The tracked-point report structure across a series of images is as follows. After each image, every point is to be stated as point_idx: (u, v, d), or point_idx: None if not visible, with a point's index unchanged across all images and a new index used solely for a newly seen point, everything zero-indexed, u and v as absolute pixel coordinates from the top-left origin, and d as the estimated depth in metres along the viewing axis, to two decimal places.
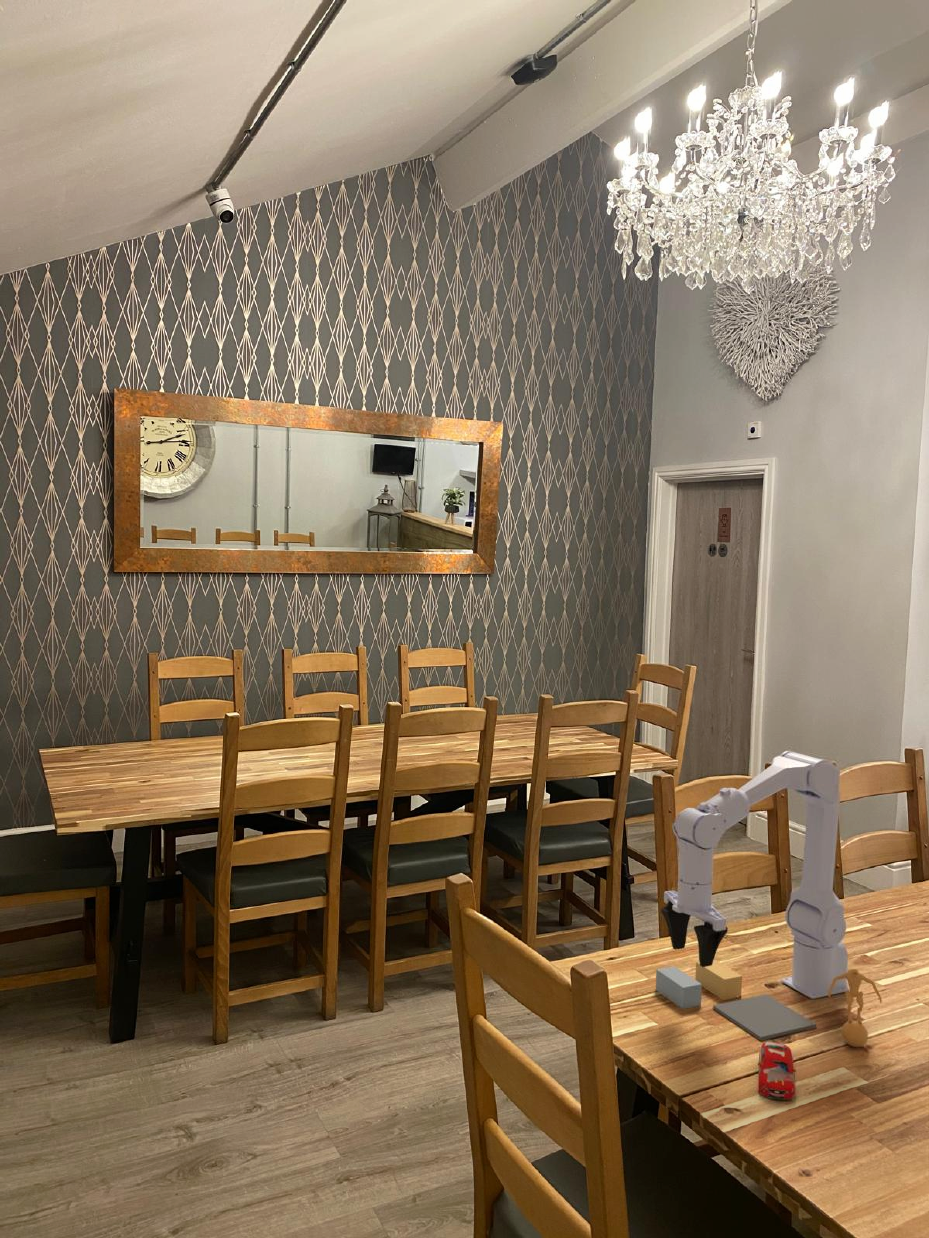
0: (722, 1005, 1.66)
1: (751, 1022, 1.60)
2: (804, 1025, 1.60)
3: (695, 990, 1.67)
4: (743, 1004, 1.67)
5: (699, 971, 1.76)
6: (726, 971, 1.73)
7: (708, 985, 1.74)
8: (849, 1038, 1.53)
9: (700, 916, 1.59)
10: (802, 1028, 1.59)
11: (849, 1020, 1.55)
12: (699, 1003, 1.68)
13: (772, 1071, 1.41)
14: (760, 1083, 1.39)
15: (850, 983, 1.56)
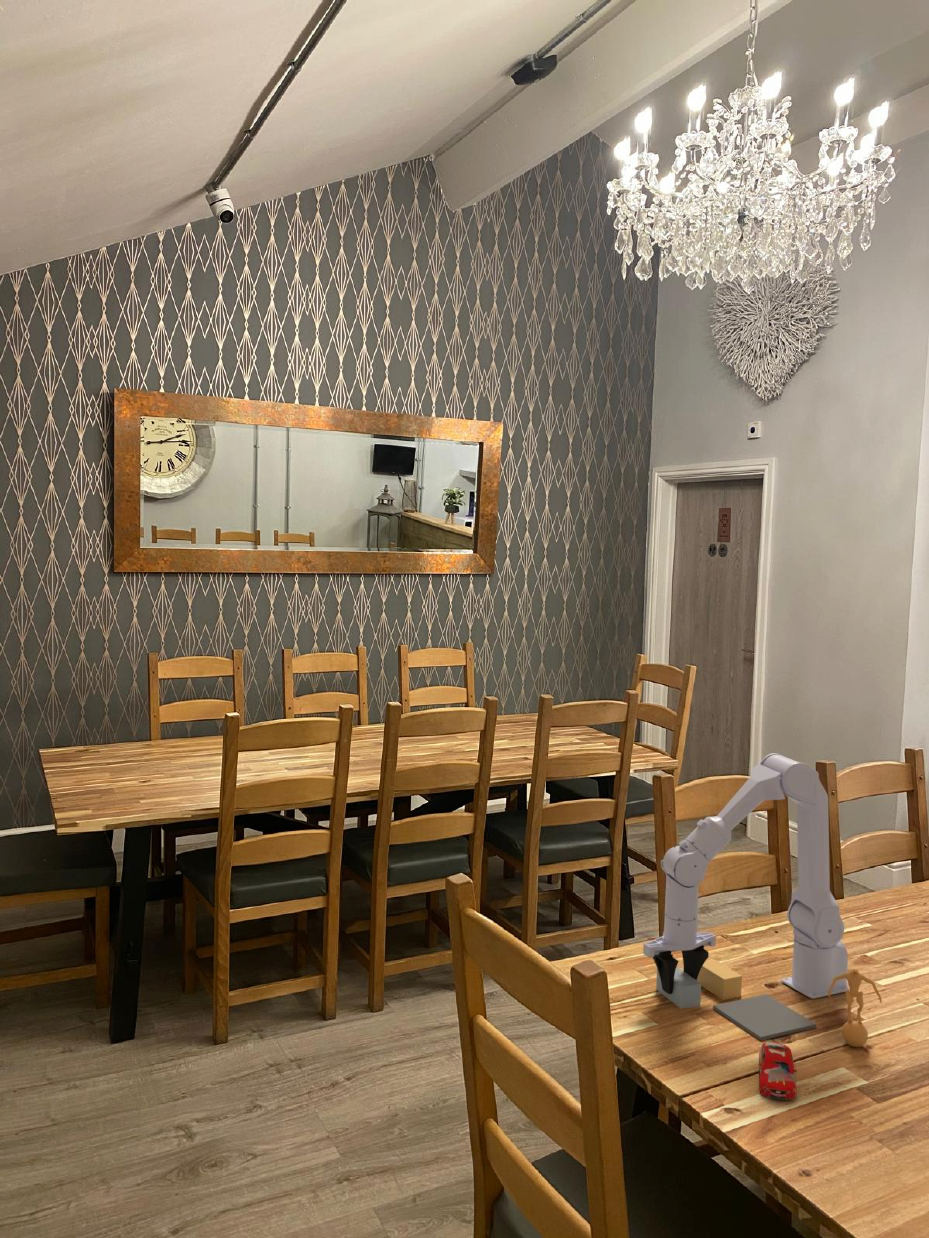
0: (722, 1005, 1.66)
1: (751, 1022, 1.60)
2: (804, 1025, 1.60)
3: (694, 989, 1.67)
4: (743, 1004, 1.67)
5: None
6: (726, 971, 1.73)
7: (708, 985, 1.74)
8: (849, 1038, 1.53)
9: None
10: (802, 1028, 1.59)
11: (849, 1020, 1.55)
12: (698, 1003, 1.67)
13: (773, 1071, 1.41)
14: (761, 1083, 1.39)
15: (850, 983, 1.56)
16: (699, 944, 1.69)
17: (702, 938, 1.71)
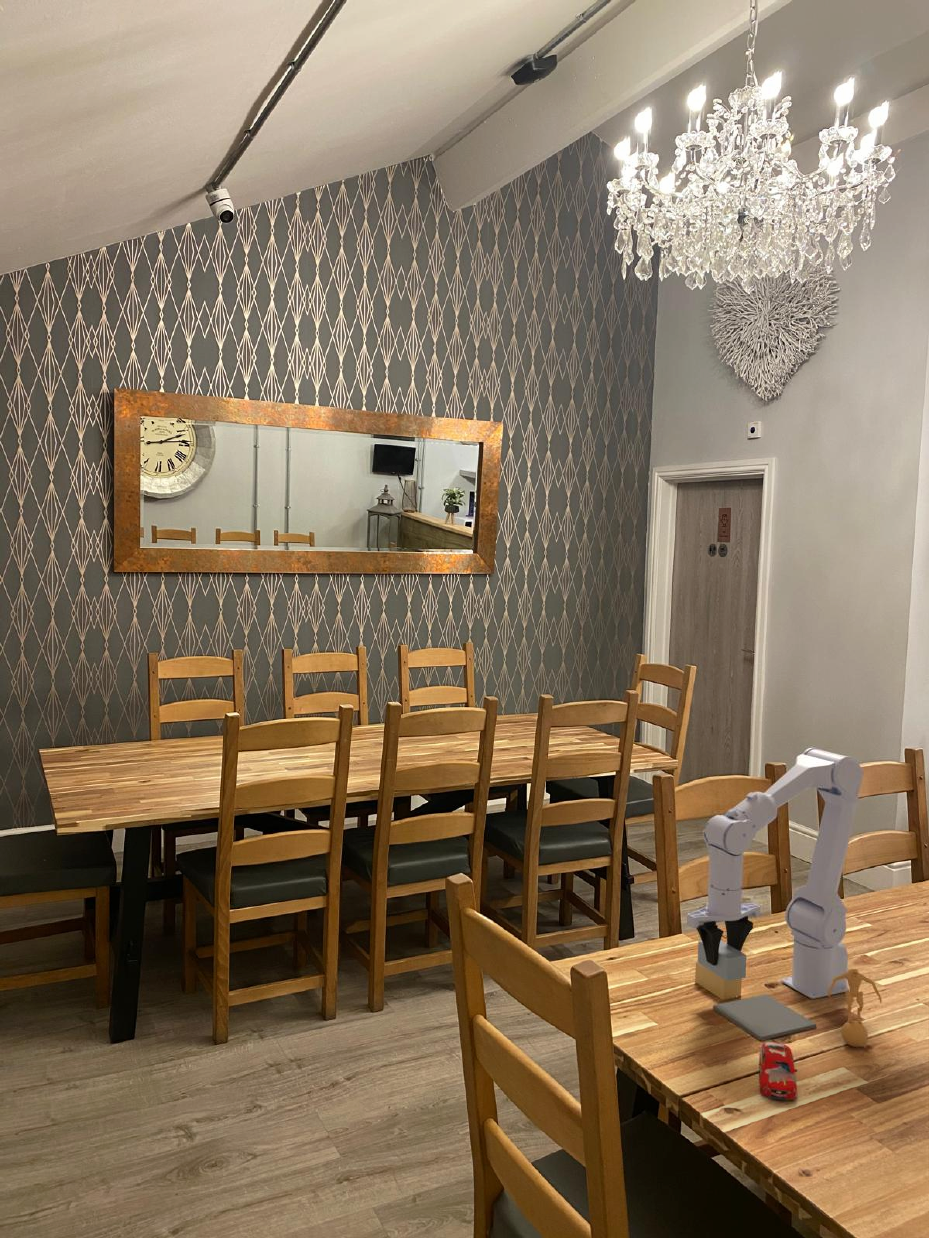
0: (722, 1005, 1.66)
1: (751, 1022, 1.60)
2: (804, 1025, 1.60)
3: (740, 961, 1.63)
4: (743, 1004, 1.67)
5: (698, 970, 1.76)
6: None
7: (707, 985, 1.74)
8: (849, 1038, 1.53)
9: None
10: (802, 1028, 1.59)
11: (849, 1020, 1.55)
12: (744, 974, 1.64)
13: (773, 1071, 1.41)
14: (762, 1083, 1.39)
15: (850, 983, 1.56)
16: (744, 915, 1.65)
17: (746, 909, 1.67)
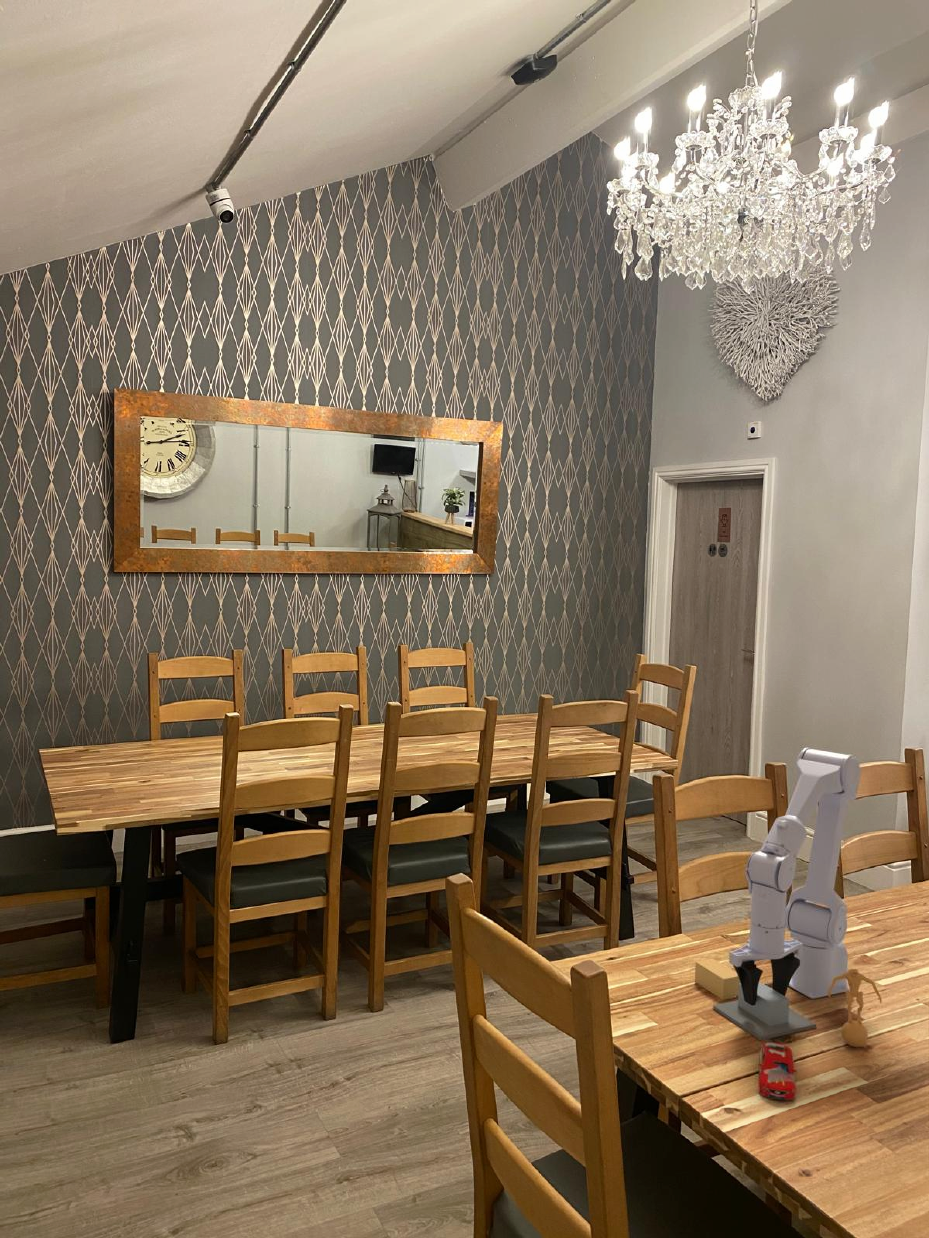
0: (722, 1005, 1.66)
1: (751, 1022, 1.60)
2: (804, 1025, 1.60)
3: (783, 1005, 1.60)
4: None
5: (698, 970, 1.76)
6: (725, 971, 1.73)
7: (707, 985, 1.74)
8: (849, 1038, 1.53)
9: None
10: (802, 1028, 1.59)
11: (849, 1020, 1.55)
12: (786, 1019, 1.61)
13: (773, 1071, 1.41)
14: (761, 1084, 1.39)
15: (850, 983, 1.56)
16: (787, 953, 1.61)
17: (789, 946, 1.64)
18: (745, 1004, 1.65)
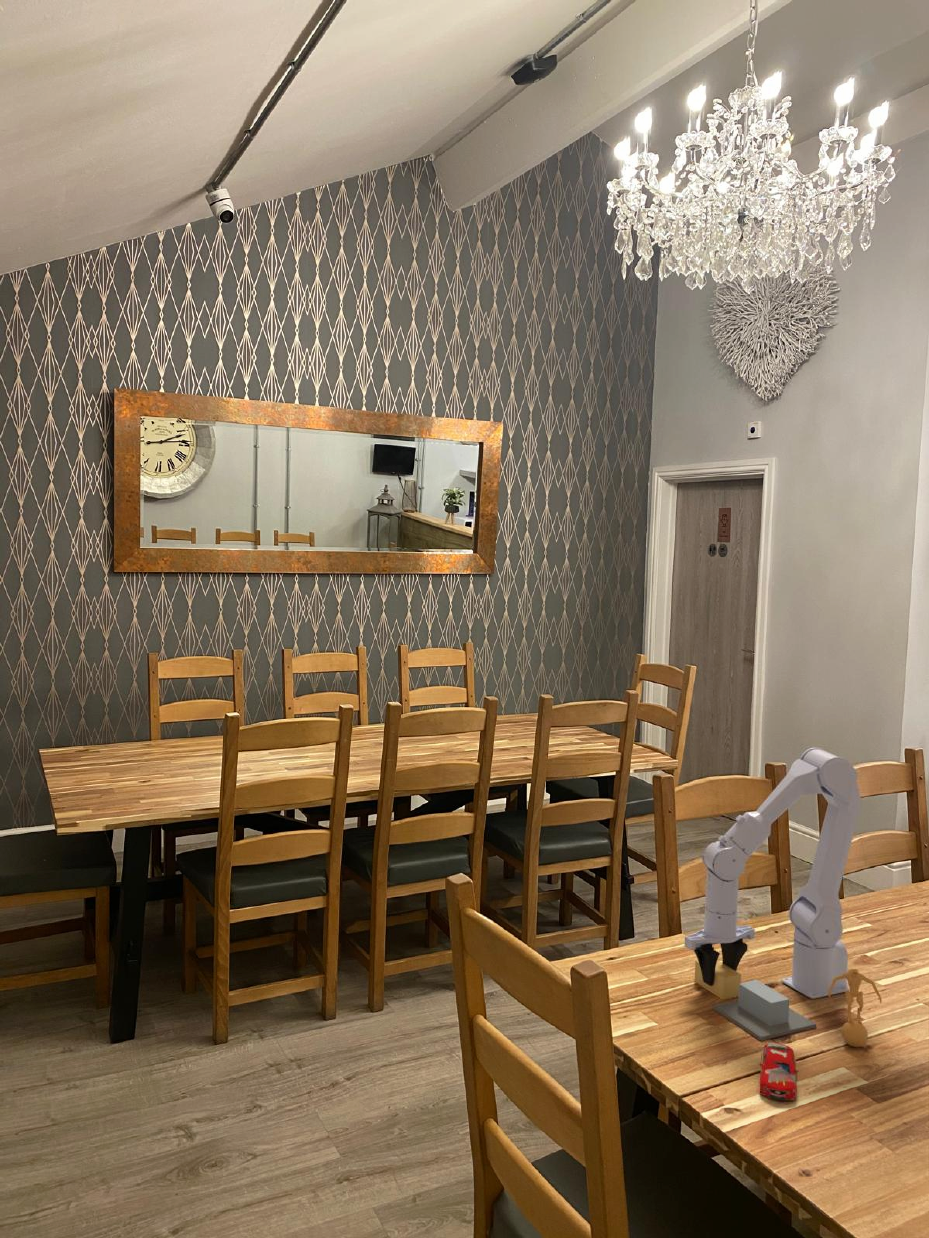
0: (722, 1005, 1.66)
1: (751, 1022, 1.60)
2: (804, 1025, 1.60)
3: (783, 1005, 1.60)
4: None
5: (698, 969, 1.76)
6: (725, 970, 1.73)
7: (707, 984, 1.74)
8: (849, 1038, 1.53)
9: None
10: (802, 1028, 1.59)
11: (849, 1020, 1.55)
12: (786, 1019, 1.61)
13: (773, 1072, 1.41)
14: (761, 1083, 1.39)
15: (850, 983, 1.56)
16: (739, 937, 1.72)
17: (741, 931, 1.75)
18: (745, 1004, 1.65)
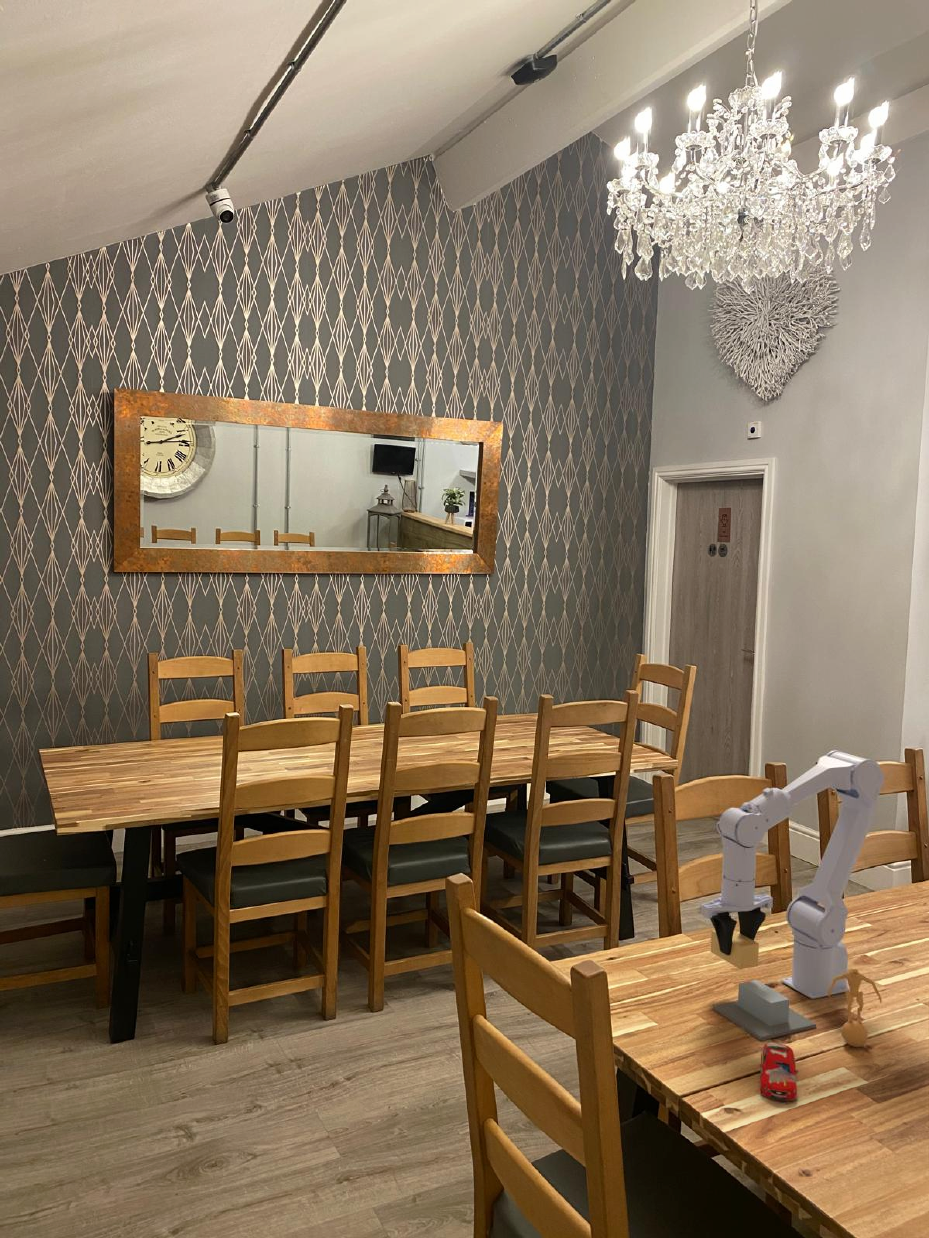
0: (722, 1005, 1.66)
1: (751, 1022, 1.60)
2: (804, 1025, 1.60)
3: (783, 1005, 1.60)
4: None
5: (714, 939, 1.72)
6: (742, 939, 1.69)
7: (723, 954, 1.70)
8: (849, 1038, 1.53)
9: None
10: (802, 1028, 1.59)
11: (849, 1020, 1.55)
12: (786, 1019, 1.61)
13: (774, 1072, 1.41)
14: (762, 1084, 1.39)
15: (850, 983, 1.56)
16: (757, 905, 1.68)
17: (759, 900, 1.71)
18: (745, 1004, 1.65)
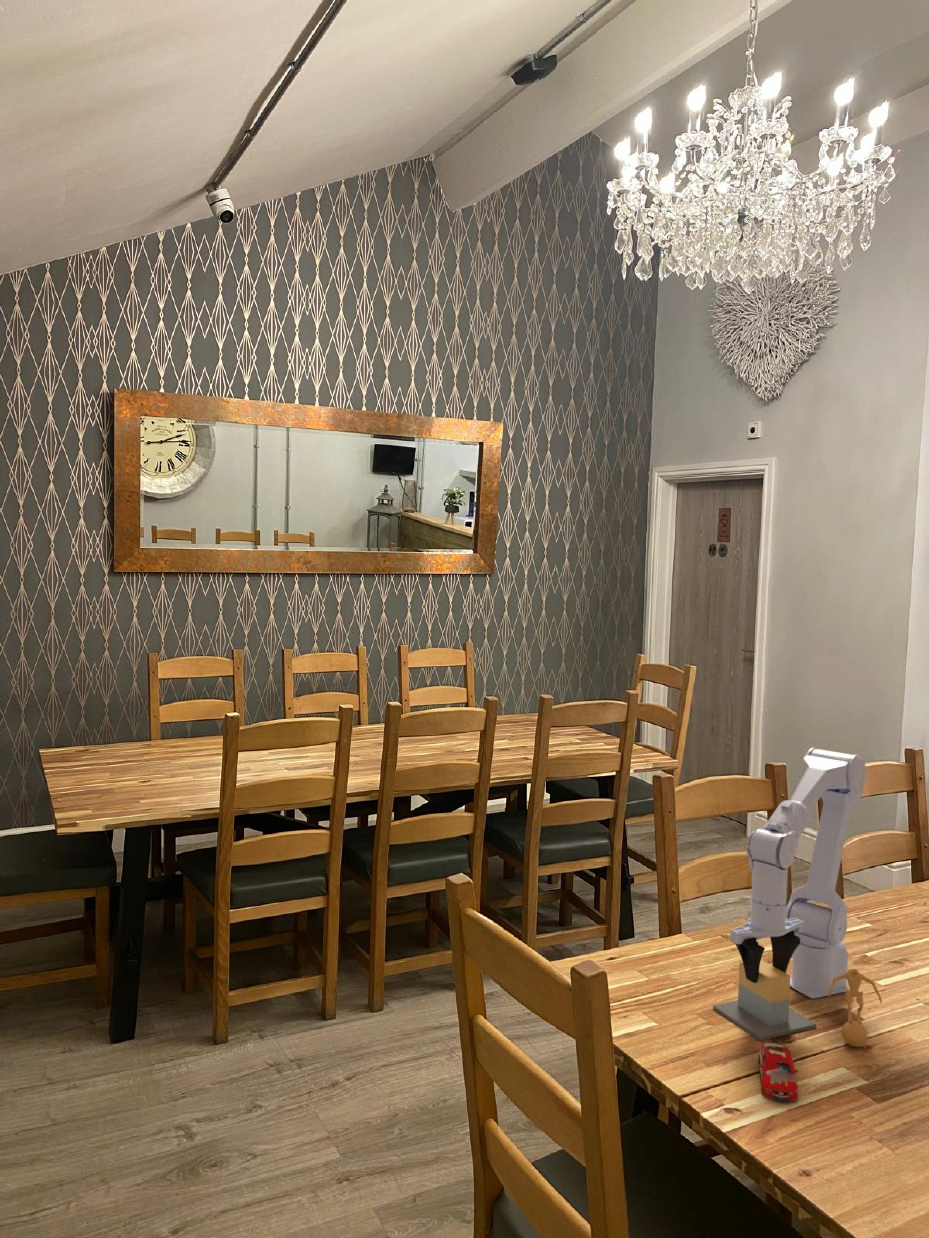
0: (722, 1005, 1.66)
1: (751, 1022, 1.60)
2: (804, 1025, 1.60)
3: (783, 1005, 1.60)
4: None
5: (743, 970, 1.65)
6: (773, 971, 1.62)
7: (753, 986, 1.63)
8: (849, 1038, 1.53)
9: None
10: (802, 1028, 1.59)
11: (849, 1020, 1.55)
12: (786, 1019, 1.61)
13: (775, 1072, 1.41)
14: (764, 1085, 1.39)
15: (850, 983, 1.56)
16: (788, 930, 1.61)
17: (790, 924, 1.64)
18: (745, 1004, 1.65)
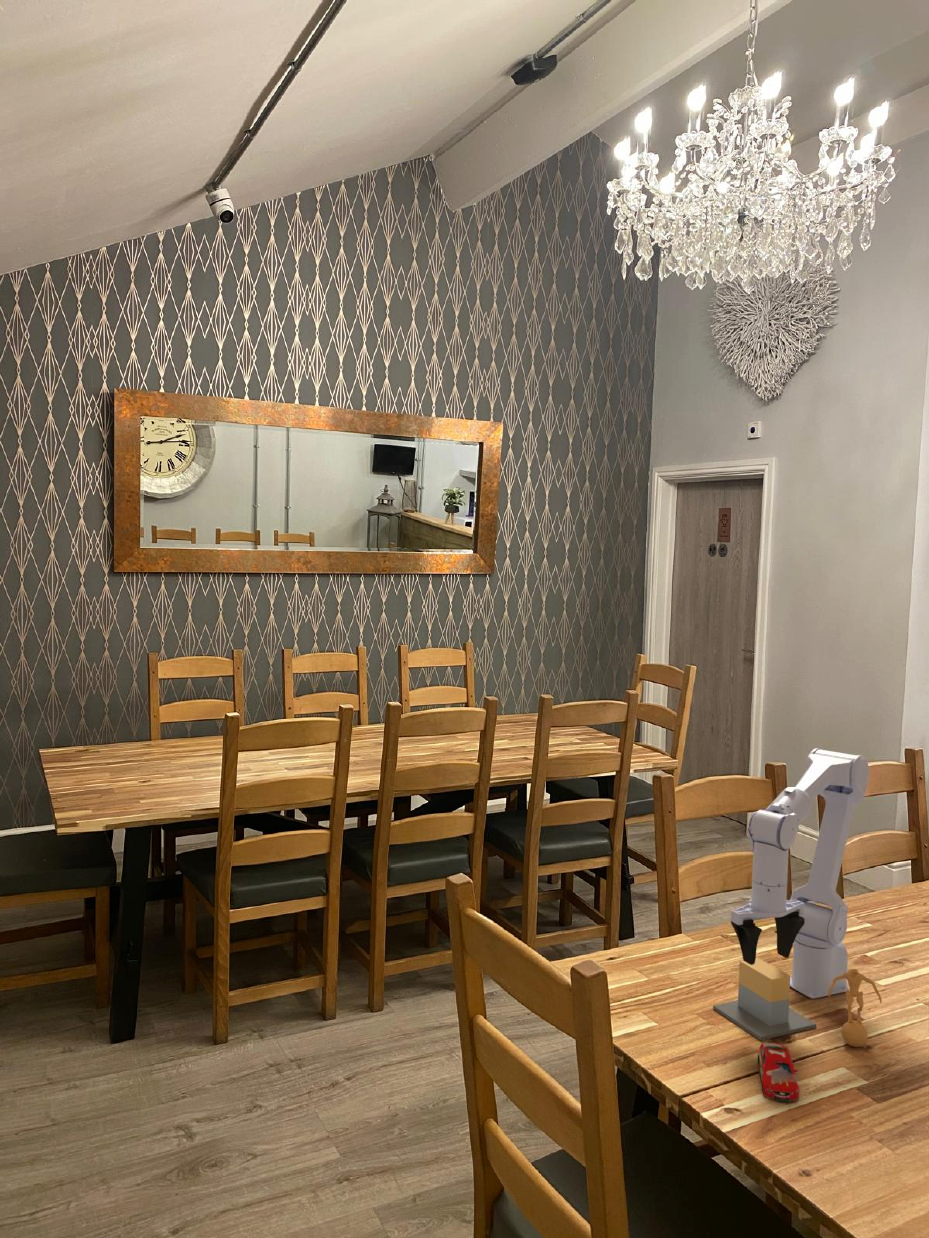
0: (722, 1005, 1.66)
1: (751, 1022, 1.60)
2: (804, 1025, 1.60)
3: (783, 1005, 1.60)
4: None
5: (743, 970, 1.65)
6: (773, 971, 1.62)
7: (753, 986, 1.63)
8: (849, 1038, 1.53)
9: None
10: (802, 1028, 1.59)
11: (849, 1020, 1.55)
12: (786, 1019, 1.61)
13: (775, 1072, 1.41)
14: (764, 1085, 1.39)
15: (850, 983, 1.56)
16: (789, 911, 1.61)
17: (791, 905, 1.63)
18: (745, 1004, 1.65)
